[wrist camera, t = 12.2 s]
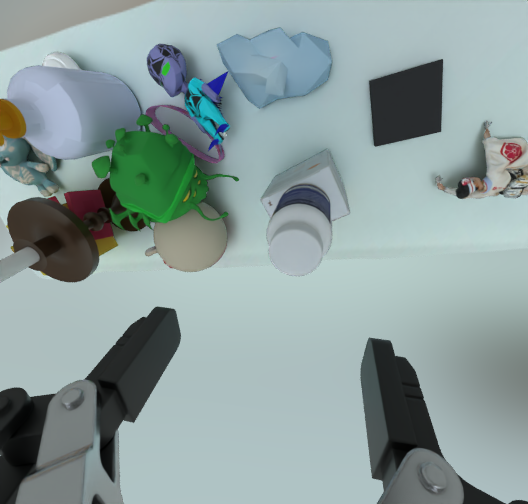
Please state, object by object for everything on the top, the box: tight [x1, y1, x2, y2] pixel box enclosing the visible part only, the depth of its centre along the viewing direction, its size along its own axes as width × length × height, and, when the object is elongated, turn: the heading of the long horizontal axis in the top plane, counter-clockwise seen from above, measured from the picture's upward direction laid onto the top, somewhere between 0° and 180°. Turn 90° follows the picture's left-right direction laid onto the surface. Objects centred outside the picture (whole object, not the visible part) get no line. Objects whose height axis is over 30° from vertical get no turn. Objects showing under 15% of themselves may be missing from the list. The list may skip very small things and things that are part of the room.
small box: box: [260, 149, 350, 221], centre depth 33 cm, size 8×6×10 cm
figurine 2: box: [92, 114, 239, 231], centre depth 32 cm, size 13×15×10 cm
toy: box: [6, 190, 118, 275], centre depth 43 cm, size 13×10×15 cm
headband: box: [146, 105, 224, 163], centre depth 36 cm, size 11×4×2 cm, turn 59°
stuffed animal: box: [0, 135, 59, 196], centre depth 41 cm, size 11×7×12 cm
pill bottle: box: [267, 183, 332, 276], centre depth 24 cm, size 5×5×10 cm
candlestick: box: [0, 178, 147, 283], centre depth 30 cm, size 11×11×35 cm
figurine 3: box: [435, 121, 528, 199], centre depth 31 cm, size 6×8×15 cm
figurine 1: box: [147, 44, 230, 151], centre depth 31 cm, size 7×6×12 cm
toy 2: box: [145, 202, 227, 272], centre depth 39 cm, size 10×12×10 cm
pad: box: [369, 59, 443, 147], centre depth 31 cm, size 7×7×1 cm
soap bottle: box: [0, 65, 141, 160], centre depth 27 cm, size 9×9×25 cm
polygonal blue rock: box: [217, 27, 332, 109], centre depth 30 cm, size 13×7×5 cm, turn 94°
